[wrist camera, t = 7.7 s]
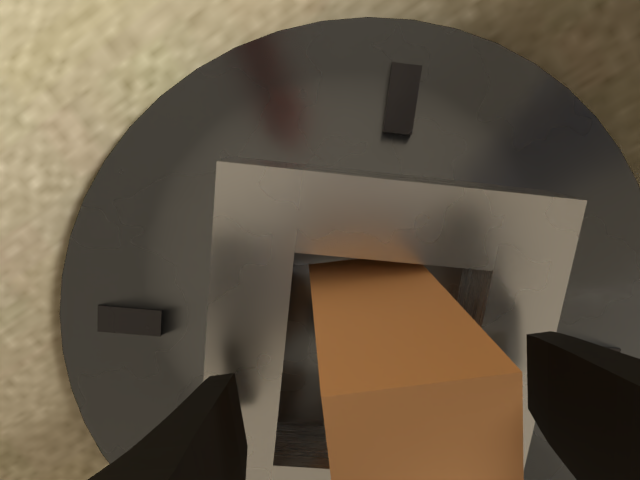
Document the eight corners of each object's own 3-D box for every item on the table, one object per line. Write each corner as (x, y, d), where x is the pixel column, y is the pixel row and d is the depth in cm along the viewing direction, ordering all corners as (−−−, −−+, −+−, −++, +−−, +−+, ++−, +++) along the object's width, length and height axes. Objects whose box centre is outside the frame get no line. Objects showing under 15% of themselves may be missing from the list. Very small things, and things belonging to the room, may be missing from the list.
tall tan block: (411, 252, 14) (522, 371, 7) (419, 376, 15) (524, 587, 8) (308, 264, 14) (321, 396, 7) (323, 388, 15) (347, 612, 8)
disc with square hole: (716, 64, 14) (811, 50, 11) (573, 576, 18) (619, 651, 15) (66, -20, 12) (8, -58, 10) (71, 553, 16) (30, 630, 14)
